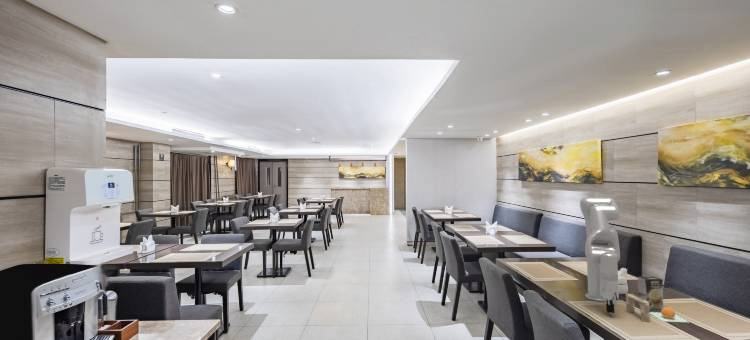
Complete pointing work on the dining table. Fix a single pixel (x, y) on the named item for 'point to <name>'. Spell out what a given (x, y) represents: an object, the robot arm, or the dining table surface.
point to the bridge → (643, 306)
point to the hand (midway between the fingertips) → (610, 312)
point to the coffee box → (651, 291)
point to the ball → (668, 312)
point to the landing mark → (662, 318)
